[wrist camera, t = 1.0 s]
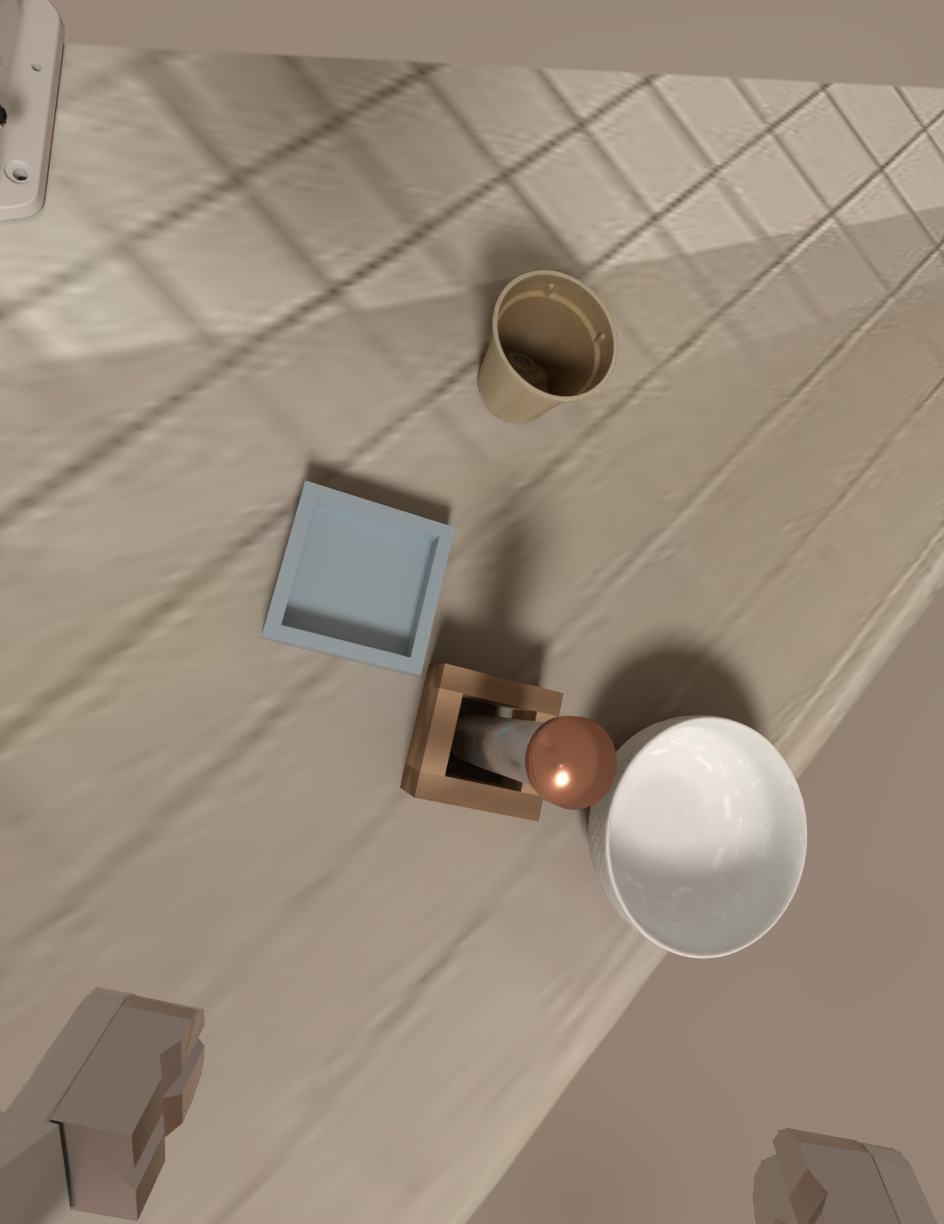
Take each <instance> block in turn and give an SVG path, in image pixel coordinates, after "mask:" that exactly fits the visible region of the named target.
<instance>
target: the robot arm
mask: <svg viewBox="0 0 944 1224" xmlns="http://www.w3.org/2000/svg"><path fill="white" fill-rule="evenodd" d="M63 41H64V25H63V22H62V20H61V17H60V15H59V13H58V11H57V10H56V8H55V7H54V6H53V5H52V4H51V2H50V1H49V0H0V220H9V219H17V218H24V217H28V216H31V215H34V214H36V213H37V212H39V211H40V209H41V208H42V206H43V203H44V196H45V188H46V180H47V172H48V163H49V155H50V147H51V139H52V131H53V123H54V115H55V107H56V99H57V91H58V83H59V75H60V66H61V58H62V50H63ZM20 176H25V177H27V179H26V180H23V181H20V180H17V178H18V177H20ZM204 1025H205V1024H204V1009H199V1008H195V1007H190V1006H185V1005H180V1004H175V1003H170V1002H165V1001H160V1000H155V999H151V998H146V997H141V996H137V995H134V994H130V993H125V992H120V991H115V990H110V989H104V988H99V987H96V988H95V989H94V990H93V991H92V992H91V993H90V994H89V995H88V996H86V997H85V998H84V999H83V1001H82V1002H81V1004H80V1005H79V1006H78V1008H77V1009H76V1011H75V1012H74V1014H73V1015H72V1017H71V1018H70V1019H69V1021H68V1022H67V1024H66V1025H65V1027H64V1028H63V1030H62V1031H61V1032H60V1034H59V1035H58V1037H57V1038H56V1040H55V1041H54V1043H53V1044H52V1046H51V1047H50V1048H49V1050H48V1051H47V1053H46V1054H45V1056H44V1057H43V1059H42V1060H41V1061H40V1063H39V1064H38V1066H37V1067H36V1069H35V1070H34V1072H33V1073H32V1074H31V1076H30V1077H29V1079H28V1080H27V1082H26V1083H25V1085H24V1086H23V1087H22V1089H21V1090H20V1092H19V1093H18V1095H17V1096H16V1098H15V1099H14V1100H13V1102H12V1103H11V1105H10V1106H9V1108H8V1109H7V1111H6V1112H1V1111H0V1224H62V1223H63V1222H64V1221H65V1220H66V1219H67V1218H68V1217H69V1216H70V1215H71V1209H72V1210H78V1211H83V1212H89V1213H94V1214H100V1215H106V1216H111V1217H117V1218H123V1219H128V1220H134V1221H138V1219H139V1217H140V1215H141V1213H142V1210H143V1208H144V1206H145V1204H146V1202H147V1200H148V1197H149V1195H150V1193H151V1191H152V1189H153V1186H154V1184H155V1182H156V1180H157V1178H158V1176H159V1173H160V1171H161V1169H162V1167H163V1165H164V1163H165V1137H166V1136H167V1135H168V1134H170V1133H171V1132H172V1131H173V1130H174V1129H176V1128H177V1127H178V1126H179V1125H181V1124H182V1123H183V1121H184V1118H185V1116H186V1114H187V1112H188V1109H189V1107H190V1105H191V1103H192V1100H193V1098H194V1095H195V1092H196V1088H197V1085H198V1082H199V1079H200V1076H201V1073H202V1067H203V1062H204V1045H203V1044H202V1042H201V1041H200V1040H199V1039H198V1038H199V1035H200V1033H201V1031H202V1029H203V1027H204ZM773 1143H774V1147H775V1150H776V1154H775V1155H773V1156H771V1157H769V1158H767V1159H764V1160H762V1161H761V1164H760V1166H759V1168H758V1170H757V1172H756V1174H755V1177H754V1190H753V1205H754V1213H755V1221H756V1224H937V1222H936V1220H935V1218H934V1216H933V1213H932V1211H931V1209H930V1207H929V1205H928V1202H927V1200H926V1198H925V1196H924V1194H923V1191H922V1189H921V1187H920V1185H919V1182H918V1180H917V1178H916V1176H915V1174H914V1171H913V1169H912V1167H911V1165H910V1163H909V1162H908V1161H907V1160H906V1158H905V1157H904V1156H903V1154H902V1153H901V1152H899V1151H897V1150H895V1149H892V1148H888V1147H883V1146H878V1145H872V1144H867V1143H862V1142H857V1141H856V1140H851V1139H845V1138H840V1137H834V1136H829V1135H823V1134H817V1133H812V1132H807V1131H801V1130H796V1129H790V1128H786V1129H782V1130H779V1132H778V1134H777V1135H776V1137H775V1139H774V1140H773Z"/></svg>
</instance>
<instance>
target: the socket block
mask: <svg viewBox="0 0 944 1224" xmlns="http://www.w3.org/2000/svg"><path fill="white" fill-rule="evenodd" d="M462 697H463V698H468V699H472V700H476V701H480V702H484V703H488V704H492V705H497V706H501V707H505V708H509V709H513V710H514V711H513V716H512V719H519V720H528V721H536V722H546V721H548V720H549V719H552V718H554V717H558V716H559V713H560V708H561V703H562V698H563V693H560V692H556V691H552V690H548V689H544V688H540V687H536V686H533V685H529V684H525V683H521V682H517V681H513V680H509V679H505V678H501V677H497V676H493V675H489V674H485V673H481V672H477V671H473V670H469V669H465V668H462V667H458V666H454V665H450V664H446V663H444V664H436V665H429V667H428V672H427V676H426V680H425V685H424V689H423V693H422V697H421V702H420V706H419V710H418V715H417V719H416V723H415V727H414V732H413V736H412V740H411V745H410V749H409V753H408V757H407V762H406V766H405V770H404V775H403V779H402V783H401V787H400V788H402V789H403V790H405V791H406V792H407V793H409V794H410V795H412V796H413V797H415V798H420V799H425V800H430V801H436V802H441V803H446V804H451V805H456V806H462V807H467V808H472V809H477V810H482V811H487V812H493V813H498V814H503V815H508V816H513V817H519V818H524V819H529V820H534V821H539V816H540V811H541V806H542V800H543V798H542V797H540V796H539V795H538V794H537V793H536V792H535V790H534V789H533V787H532V786H531V785H528V784H526V783H523V782H520V781H517V780H514V779H512V778H509V777H506V776H503V775H500V779H499V783H496V782H491V781H486V780H481V779H476V778H472V777H467V776H462V775H457V774H452V773H447V772H446V768H447V763H448V759H449V754H450V750H451V745H452V741H453V736H454V732H455V727H456V723H457V718H458V714H459V709H460V705H461V700H462Z"/></svg>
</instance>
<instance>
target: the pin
mask: <svg viewBox="0 0 944 1224" xmlns="http://www.w3.org/2000/svg"><path fill="white" fill-rule="evenodd" d="M451 750H452V752H453V753H454V755H455V756H456V757H457V758H458V759H460V760H462V761H464V762H467V763H469V764H472V765H475V766H478V767H481V768H483V769H486V770H489V771H492V772H495V773H497V774H500V775H503V776H506V777H509V778H512V779H514V780H517V781H520V782H523V783H526V784H528V785H531V786H532V787H533V789H534V790H535V792H536V793H537V794H538V795H539V796H540V797H542V798H543V799H544V800H546V801H548V802H550V803H552V804H555V805H557V806H560V807H562V808H566V809H571V810H579V809H584V808H587V807H590V806H592V805H594V804H596V803H597V802H599V801H600V800H601V799H602V798H603V797H604V796H605V795H606V793H607V792H608V791H609V789H610V787H611V785H612V783H613V781H614V778H615V774H616V768H617V757H616V751H615V747H614V744H613V742H612V740H611V738H610V736H609V735H608V733H607V732H606V731H605V730H604V728H602V727H601V726H600V725H599V724H598V723H596V722H595V721H592V720H590V719H588V718H584V717H577V716H558V717H554V718H552V719H549V720H548V721H546V722H536V721H528V720H519V719H511V718H503V717H494V716H486V715H478V714H468V715H465V716H462V717H461V718H459V719H458V720H457V723H456V727H455V732H454V736H453V741H452V745H451Z"/></svg>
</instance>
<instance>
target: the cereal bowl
mask: <svg viewBox="0 0 944 1224" xmlns="http://www.w3.org/2000/svg"><path fill="white" fill-rule="evenodd" d="M616 757H617V768H616V774H615V778H614V781H613V783H612V785H611V787H610V789H609V791H608V792H607V793H606V795H605V796H604V797H603V798H602V799H601V800H600V801H599V802H597V803H596V804H594V805H592V806H591V807H590V813H589V823H588V824H589V828H588V832H589V846H590V853H591V858H592V861H593V866H594V868H595V872H596V875H597V878H598V880H599V882H600V884H601V886H602V888H603V890H604V892H605V894H606V896H607V897H608V899H609V900H610V902H611V903H612V905H613V907H614V908H615V909H616V910H617V911H618V913H619V914H620V915H621V916H622V917H623V918H624V919H625V920H626V922H627V923H628V924H629V925H630V926H631V927H633V928H634V929H635V930H636V931H637V932H638V933H640V934H641V935H642V936H643V937H644V938H646V939H648V940H649V941H651V942H652V943H654V944H655V945H657V946H659V947H661V948H663V949H665V950H667V951H669V952H672V953H675V954H678V955H681V956H686V957H692V958H715V957H720V956H725V955H728V954H731V953H734V952H737V951H739V950H741V949H743V948H745V947H747V946H748V945H750V944H752V943H753V942H755V941H756V940H758V939H759V938H760V937H762V936H763V935H764V934H765V933H766V932H767V931H769V930H770V928H771V927H772V926H773V925H774V924H775V923H776V922H777V921H778V920H779V918H780V917H781V916H782V914H783V913H784V911H785V910H786V908H787V907H788V905H789V903H790V901H791V899H792V897H793V896H794V894H795V891H796V889H797V887H798V884H799V881H800V878H801V875H802V871H803V867H804V862H805V856H806V847H807V821H806V814H805V807H804V803H803V799H802V796H801V792H800V789H799V786H798V784H797V781H796V779H795V777H794V775H793V773H792V771H791V769H790V767H789V766H788V764H787V762H786V761H785V759H784V758H783V757H782V755H781V754H780V753H779V751H778V750H777V749H776V748H775V746H774V745H773V744H772V743H771V742H770V741H768V740H767V739H766V738H765V737H764V736H763V735H761V734H760V733H759V732H757V731H756V730H754V729H752V728H751V727H749V726H747V725H744V724H742V723H740V722H737V721H734V720H731V719H728V718H723V717H718V716H708V715H693V716H684V717H676V718H672V719H667V720H665V721H660V722H658V723H656V724H653V725H650V726H649V727H647V728H645V729H642V730H641V731H639V732H638V733H637V734H635V735H634V736H632V737H631V738H630V739H629V740H628V741H626V742H625V744H623V745H622V746H621V747H620V749H618V750H617V752H616Z"/></svg>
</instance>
